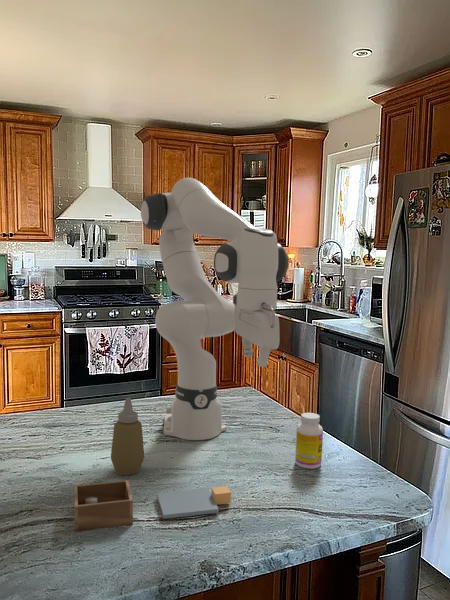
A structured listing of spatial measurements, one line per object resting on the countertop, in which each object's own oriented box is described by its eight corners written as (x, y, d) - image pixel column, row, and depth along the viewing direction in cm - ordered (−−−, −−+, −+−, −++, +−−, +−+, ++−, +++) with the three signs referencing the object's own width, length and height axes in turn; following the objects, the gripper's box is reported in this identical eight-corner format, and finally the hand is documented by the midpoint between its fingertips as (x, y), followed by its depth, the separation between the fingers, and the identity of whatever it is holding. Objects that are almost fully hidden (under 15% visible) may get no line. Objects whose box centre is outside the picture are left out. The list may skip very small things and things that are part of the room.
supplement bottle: (320, 471, 130) (323, 421, 129) (294, 468, 132) (296, 418, 130) (321, 460, 137) (324, 412, 135) (295, 457, 138) (298, 410, 137)
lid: (156, 499, 114) (156, 485, 114) (222, 493, 118) (223, 479, 118) (163, 522, 105) (163, 507, 105) (234, 514, 109) (235, 499, 109)
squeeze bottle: (150, 467, 130) (151, 396, 128) (134, 480, 122) (134, 405, 120) (121, 461, 132) (121, 392, 130) (103, 474, 125) (104, 401, 123)
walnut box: (74, 508, 109) (74, 485, 108) (128, 502, 112) (128, 480, 111) (74, 531, 100) (74, 506, 100) (132, 524, 103) (133, 500, 103)
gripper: (288, 306, 109) (285, 371, 110) (255, 295, 128) (253, 351, 130) (259, 306, 107) (257, 373, 108) (230, 295, 126) (228, 352, 128)
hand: (254, 361), depth 119 cm, fingers open, 8 cm apart
